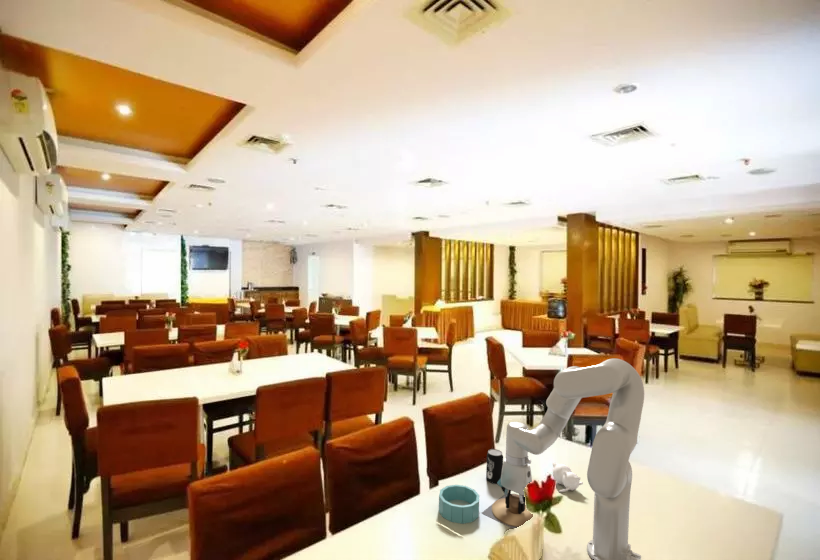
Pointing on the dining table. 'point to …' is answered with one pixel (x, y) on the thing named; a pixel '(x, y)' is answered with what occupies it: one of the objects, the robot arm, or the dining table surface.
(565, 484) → the cat figurine
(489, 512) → the mat
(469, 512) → the bowl
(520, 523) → the lid
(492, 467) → the beverage can
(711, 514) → the dining table surface
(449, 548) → the dining table surface
